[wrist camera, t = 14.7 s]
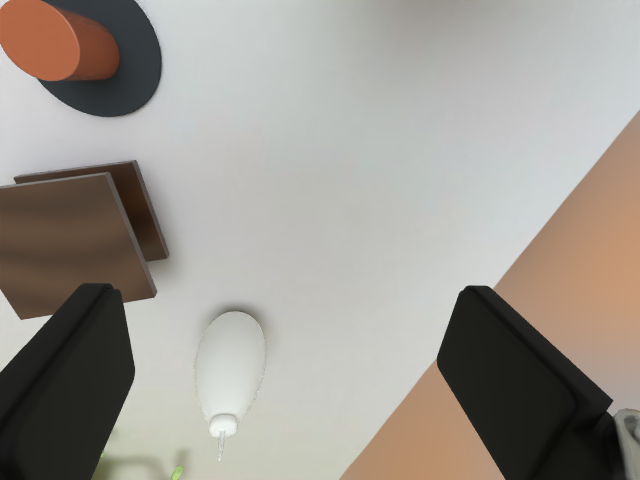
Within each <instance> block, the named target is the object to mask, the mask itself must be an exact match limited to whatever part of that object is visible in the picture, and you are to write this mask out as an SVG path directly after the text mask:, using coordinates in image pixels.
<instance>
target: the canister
mask: <svg viewBox="0 0 640 480" xmlns="http://www.w3.org/2000/svg"><path fill="white" fill-rule="evenodd" d="M0 44H1V46H2V48H3V50H4V51H5V53H6V54H7V56H8V57H9V58H10V59H11V60H12V62H13V63H15V64H16V65H17V66H18V67H19V68H20V69H22V70H23V71H24V72H26V73H27V74H29V75H31V76H33V77H36V78H38V79H42V80H47V81H102V80H105V79H108V78H109V77H111V76H112V75H113V74H114V73H115V72H116V70H117V68H118V66H119V60H120V55H119V49H118V46H117V43H116V41H115V39H114V38H113V36H112V35H111V33H110V32H109V31H108V30H107V29H106V28H105V27H104V26H103V25H102V24H100V23H99V22H97V21H96V20H93V19H91V18H89V17H86V16H83V15H80V14H77V13H75V12H72V11H69V10H66V9H63V8H61V7H58V6H55V5H52V4H49V3H47V2H44V1H41V0H9V1H8V2H6V3H5V4H4V5H3V6H2V7H1V9H0Z"/></svg>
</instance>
